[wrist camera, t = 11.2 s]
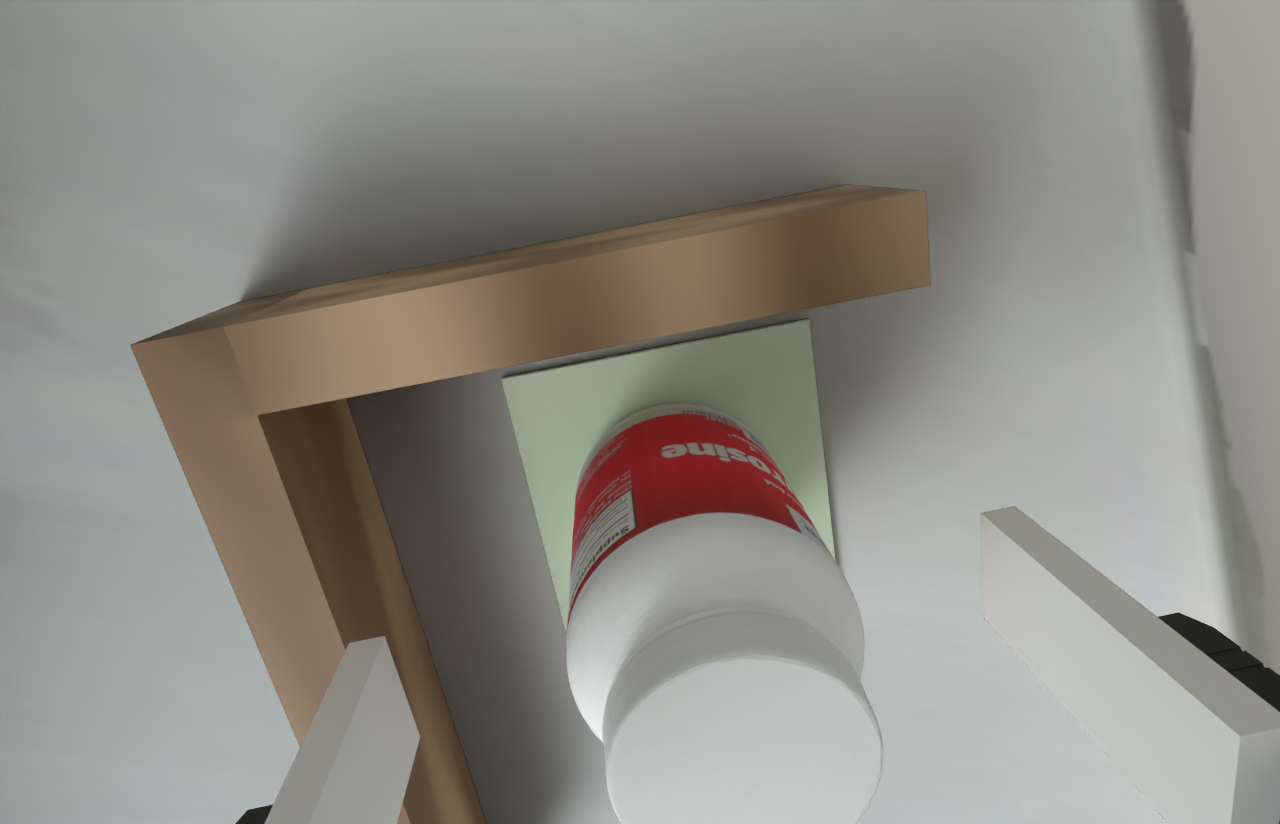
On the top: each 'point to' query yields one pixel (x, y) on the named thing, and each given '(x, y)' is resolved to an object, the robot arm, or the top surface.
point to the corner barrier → (444, 348)
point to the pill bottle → (714, 632)
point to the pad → (681, 373)
